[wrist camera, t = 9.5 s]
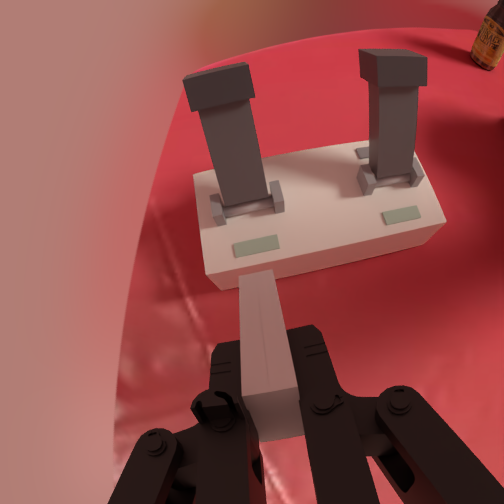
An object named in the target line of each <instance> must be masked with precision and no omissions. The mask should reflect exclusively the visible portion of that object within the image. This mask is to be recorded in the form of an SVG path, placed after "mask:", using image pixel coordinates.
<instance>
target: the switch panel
mask: <svg viewBox="0 0 504 504" xmlns="http://www.w3.org/2000/svg"><path fill="white" fill-rule="evenodd" d="M261 159H262V164H263V169H264V174H265V179H266V185H267V190H268V195H269V197H266V198H261V199H257V200H252V201H247V202H243V203H238V204H234V205H230V206H225V205H224V201H223V198H222V194H221V191H220V187H219V184H218V180H217V177H216V173H215V170H214V169H212V170H208V171H204V172H200V173H196V174H193V178H194V187H195V196H196V204H197V213H198V221H199V229H200V237H201V244H202V252H203V259H204V266H205V273H206V276H207V277H208V278H209V279H210V280H211V281H212V282H213V283H214V284H215V285H216V286H217V287H218V288H219V289H220V290H221V291H222V290H227V289H232V288H237V287H239V276H242V275H247V274H252V273H257V272H261V271H266V270H271V269H273V273H274V278H275V279H279V278H284V277H289V276H293V275H298V274H302V273H307V272H311V271H316V270H320V269H324V268H329V267H333V266H338V265H342V264H346V263H350V262H355V261H359V260H363V259H367V258H371V257H376V256H380V255H384V254H388V253H392V252H396V251H400V250H404V249H408V248H412V247H416V246H420V245H423V244H425V243H426V242H427V241H428V240H429V239H430V238H431V237H432V236H433V235H434V234H435V233H436V232H437V231H438V230H439V229H440V228H441V227H442V226H443V225H444V224H445V223H446V222H447V221H446V219H445V216H444V214H443V211H442V209H441V206H440V204H439V202H438V199H437V197H436V195H435V193H434V190H433V188H432V186H431V184H430V182H429V180H428V177H427V175H426V173H425V171H424V169H423V167H422V165H421V163H420V161H419V159H418V157H417V155H416V153H415V151H414V157H413V166H412V172H411V173H405V174H398V175H392V176H386V177H380V178H377V177H376V176H375V175H374V174H373V172H372V170H371V168H370V166H369V140H367V141H360V142H352V143H345V144H339V145H332V146H326V147H320V148H314V149H308V150H302V151H297V152H291V153H286V154H281V155H275V156H270V157H266V158H261Z"/></svg>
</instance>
